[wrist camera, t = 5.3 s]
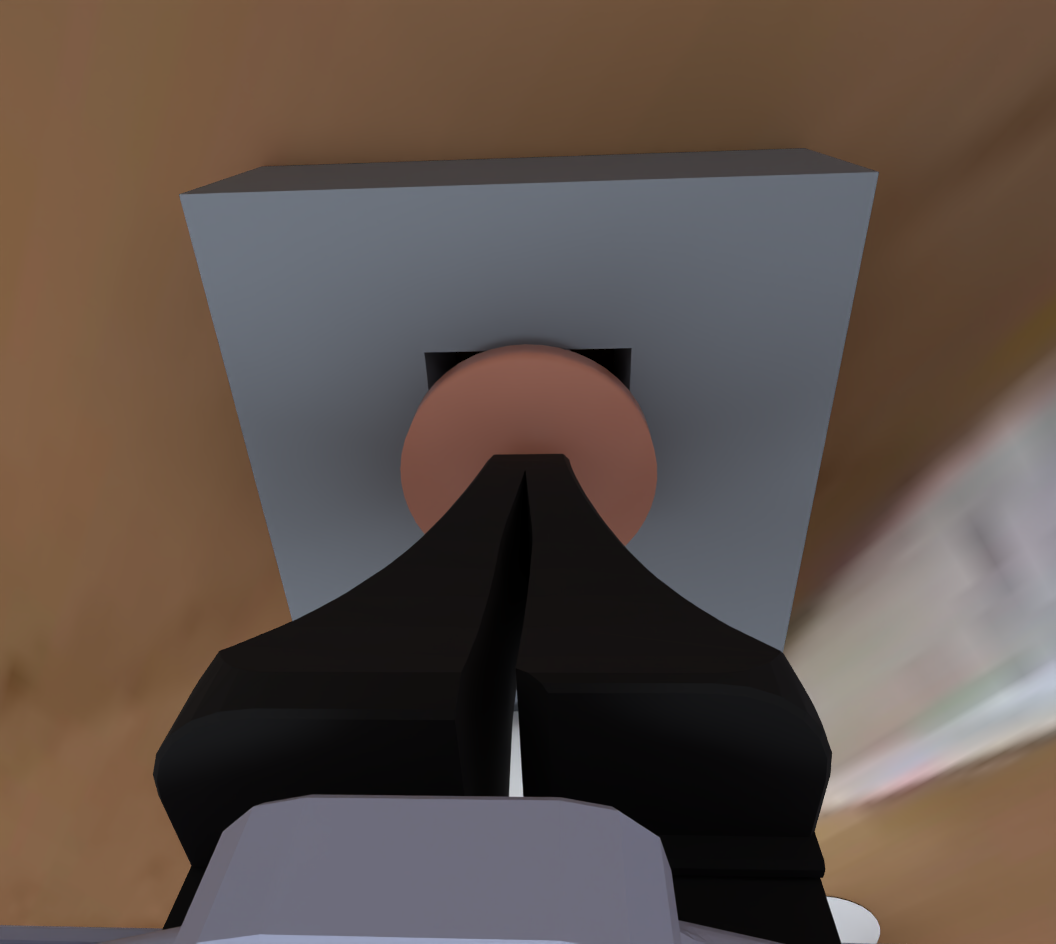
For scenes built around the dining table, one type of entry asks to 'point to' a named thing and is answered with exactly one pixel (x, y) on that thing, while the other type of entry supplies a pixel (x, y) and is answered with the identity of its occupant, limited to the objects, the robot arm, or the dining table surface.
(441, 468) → the red plunger
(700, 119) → the dining table surface
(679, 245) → the panel
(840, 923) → the champagne flute
